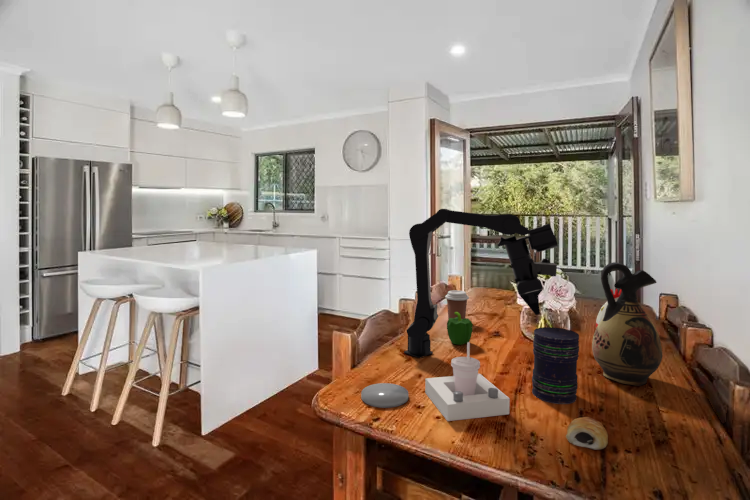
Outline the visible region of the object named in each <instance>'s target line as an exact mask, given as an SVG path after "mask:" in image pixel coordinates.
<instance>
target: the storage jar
mask: <svg viewBox="0 0 750 500" xmlns="http://www.w3.org/2000/svg"><path fill="white" fill-rule="evenodd" d="M533 335H534V336H533V341H532V342H533V343H532V344H533V345H532V346H533V348H532V355H534V357H533V369H532V376H531V382H532V389H531V393H532V395H533V396H534V397H535V396H536V397H535V398H537V399H538V398H539V399H538V400H540V399H541V401H543V402H546V403H549V404H550V403H551V404H556V405H570V404H573V403H575V402H576V401H577V397H578V396H577V393H578V383H579V382H578V375H577V371H578V370H577V369H578V365H577V364H578V360H579V356H580V355H579V352H580V345H579V344H580V341H579V340H580V334H579V333H578V332H576V331H574V330H572V329H571V330H570V329H567V328H566V329H565V328H560V327H554V326H553V327H552V326H551V327H550V326H547V327H538V328H535V329H534V330H533Z"/></svg>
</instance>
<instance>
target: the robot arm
mask: <svg viewBox="0 0 750 500" xmlns="http://www.w3.org/2000/svg"><path fill="white" fill-rule="evenodd" d="M445 223H449V224H456V225H463V226H464V225H465V226H469V227H470V226H471V227H479V228H485V229H488V230H491V231H494V232H497V233H501V234H503V235H506V236H510V237H507V238H505V237H503V236H500V239H499V242H498V243H497V247H503V246H505V247H504V248H505V250H506V253H507V256H508V259H509V263H510V267H511V269H512V273H513V277H514V280H515V285H516V286H515V287H516V290H517V293H518V296H519V297H520V298H521V299H522V301H524V302H525V304H526V305H527V306H528V307H529V309H530V310H531V312H533V314H534V315H536V316H538V315H540V314H541V313H540V311H541V310H540V300H539V299H540V298H539V295H540V294H541V293H542V292H543V289H544V287H543V284H542V281H541V279H540V278H539V277H540V276H539V275H541V276H550V277H557V269H558V268H557V267H558V265H557V264H556V263H554V262H551V261H550V259H549V258H542V259H541V261H534V259H533V257H532V256H531V252H530V250H531V251H536V253H541V252H544V251H548V250H551V249H555V248H558V247H559V245H558V240H557V237H556V235H555V234H554V231H553V229H552V227H551V224H550V223H546V224H544V225H541V226H538V227H535V228H532V229H531V228H530V229H529V227H527V226H525V225H522V224H521V220H520V218H519V217H518V216H517V215H515V214H511V213H508V214H507V213H506V214H505V213H503V214H482V213H473V212H467V211H458V210H451V209H450V210H449V209H447V208H441V209H440V208H439V210H437V212H435V213H434V214H433V215H431V216H430V217H428V218H427V219H425V220H424V221H423V222H421V223H416V224H413V225H412V226H411V227H410V229H409V230H408V231H409V233H408V235H409V240H410V244H411V247H412V250H413V253H414V260H415V262H414V264H415V277H416V278H415V279H416V280H415V282H416V283H415V285H416V297H417V299H416V305H415V306H416V307H415V311H414V318H413V321H412V323H411V324H410V325H409V326H408V328H407V329H406V331H405V332H406V334H407V350H404V351H403V353H404V354H406V355H409V356H411V357H412V356H413V357H415V358H418V359H420V358H423V357H426V356H429V355H432V354H434V351H432V350H431V346H432V345H431V343H432V342H431V339H430V338H431V337H430V336H431V335H430V334H429V333H428V332H429V331H431V330H432V329H433V326H434V325H435V324H436V322H437V320H438V318H439V315H438V304H437V303H436V304H433V301H432V297H431V296H432V294H431V276H430V275H431V274H430V271H431V269H430V256H429V255H430V248H431V245H432V237H433V236H432V235H433V232H435V231H437V230H438V229H439V228H441V227H442V226H443V225H444V224H445ZM515 234H517V235H521V236H523V237H518V238H517V236H516V235H515ZM512 235H513V236H512ZM527 241H528V243H527ZM528 244H529V247H528ZM529 248H530V249H529Z"/></svg>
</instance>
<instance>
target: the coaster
mask: <svg viewBox="0 0 750 500" xmlns="http://www.w3.org/2000/svg"><path fill="white" fill-rule="evenodd" d="M360 394H361V396H360V399H361V401H362V402H363V403H365V404H366V405H368V406H371V407H373V408H381V409H388V408H396V407H399V406H403V405H405V403H407V402H408V400H409V391H408V389H407V388H406V387H404V386H401V385H400V384H399V385H398V384H395V383H390V382H389V383H388V382H382V383H374V384H370V385H368V386H366V387H364V388H363V389H361V391H360Z"/></svg>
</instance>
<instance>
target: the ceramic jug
mask: <svg viewBox="0 0 750 500" xmlns="http://www.w3.org/2000/svg"><path fill="white" fill-rule="evenodd" d="M616 271H619V272H620V273H623V276H622V277H620V278H618V280H617V281H616V282H615V283H614V288H615V289H619V290H620V289H621V290H622V292H621V294H620V296H619V298H618V299H617V301H615V299H614V296H613V294H614V293H613V294H612V292H611V289H612V288H611V286H610V283H609V274H611V273H612V272H616ZM600 272H601V273H600V280H601V285H602V289H603V291H604V295H605V298H606V302H607V301H608V305H607V307H606V311H605V315H604V317H603V319H602V320H601V321H600V322H599V324H598V326H597V327H596V328H595V331H594V334H593V337H592V343H591V349H592V354H593V357H594V360H595V361H596V363H597V364H598V365H599V367H600V368H601V369H602V371H603V375H602V376H604V377H605V378H607V379H609V380H612V381H614V382H617V383H619V384H625V385H629V386H631V385H632V386H634V387H635V386H636V387H641V386H644V385H646V383H647V382H648V379H649V377H651V376H652V375H653V374H654V373H655V372H656V371H657V370H658V369H659V367H660V365H661V363H662V360H663V356H664V355H663V348H662V342H661V339H660V338H661V337H660V334H659V332H658V331H657V328H656V326H655V324H654V323H653V321H652V320H651V318H650V317H649V315H648V314H647V312H646V311H645V309H644V308H643V307H642V305H641V304H640V301H638V299H637V298H638V296H637V291H638V290H640V289H643V288H645V287H647V286H651V285H655V284H656V283H657V280H656V279H655V278H653V276H652V275H650V273H648V272H646V271H645V270H644V269H638V270H637V271H636V272H634V273H632V271H631V270H630V268H629V266H627V265H625V264H623V263H621V262H616V261H614V262H610V263H608V264H606V265H605V266H604V267H603V268H602V270H601V271H600Z"/></svg>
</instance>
